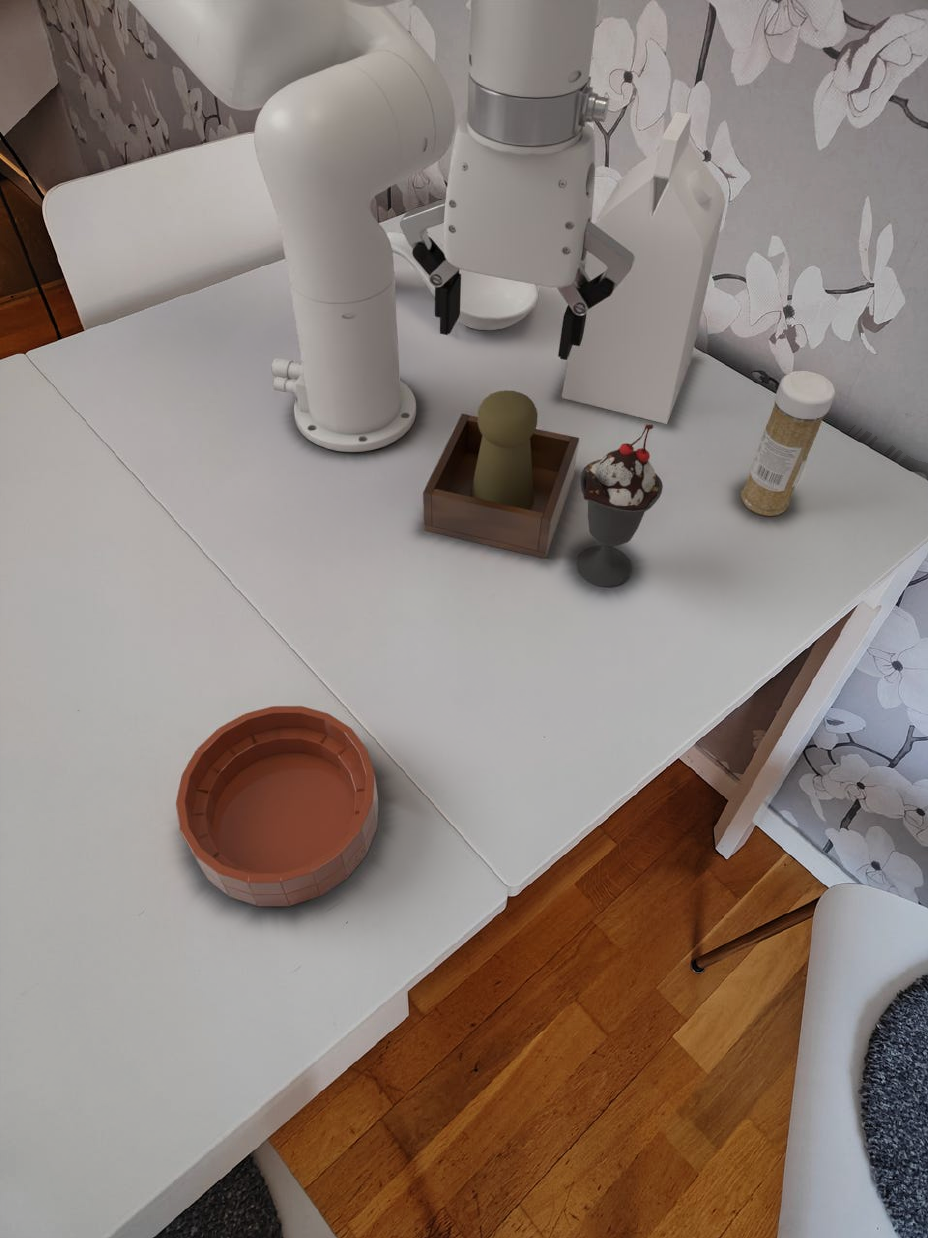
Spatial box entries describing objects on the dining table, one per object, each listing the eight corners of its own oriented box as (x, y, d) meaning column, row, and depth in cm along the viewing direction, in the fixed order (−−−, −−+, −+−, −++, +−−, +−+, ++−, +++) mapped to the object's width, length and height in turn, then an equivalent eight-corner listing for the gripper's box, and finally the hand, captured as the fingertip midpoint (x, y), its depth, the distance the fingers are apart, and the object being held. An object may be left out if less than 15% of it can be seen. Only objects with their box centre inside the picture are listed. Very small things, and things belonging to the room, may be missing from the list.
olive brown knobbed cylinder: (467, 476, 84) (469, 381, 75) (529, 473, 84) (539, 378, 76) (473, 520, 80) (476, 426, 72) (538, 517, 81) (549, 422, 72)
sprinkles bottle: (797, 506, 83) (848, 389, 73) (763, 524, 82) (810, 408, 71) (763, 478, 86) (807, 362, 75) (729, 495, 84) (769, 379, 73)
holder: (424, 530, 80) (422, 492, 77) (461, 451, 87) (461, 412, 84) (545, 559, 78) (550, 521, 75) (573, 475, 85) (579, 437, 82)
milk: (592, 337, 100) (629, 89, 80) (691, 360, 98) (755, 110, 77) (561, 397, 93) (593, 142, 73) (666, 423, 91) (730, 167, 70)
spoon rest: (548, 301, 105) (554, 244, 99) (517, 355, 98) (522, 297, 92) (369, 262, 109) (365, 205, 104) (327, 311, 103) (320, 253, 97)
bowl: (157, 875, 60) (139, 848, 56) (243, 718, 68) (232, 686, 64) (336, 933, 57) (329, 908, 54) (403, 764, 65) (401, 733, 62)
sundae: (647, 549, 79) (682, 417, 68) (632, 602, 75) (665, 472, 64) (577, 531, 81) (599, 399, 69) (558, 582, 77) (578, 451, 65)
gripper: (669, 103, 57) (623, 332, 70) (417, 63, 59) (420, 291, 73) (649, 153, 52) (604, 387, 66) (378, 107, 55) (389, 342, 68)
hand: (507, 337), depth 69 cm, fingers open, 9 cm apart
